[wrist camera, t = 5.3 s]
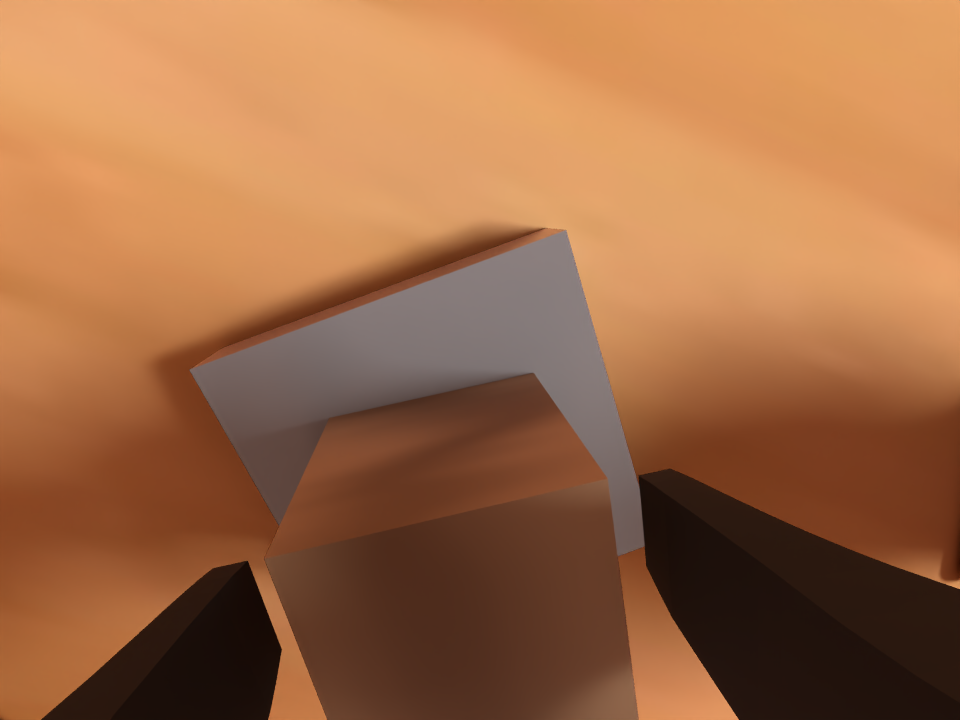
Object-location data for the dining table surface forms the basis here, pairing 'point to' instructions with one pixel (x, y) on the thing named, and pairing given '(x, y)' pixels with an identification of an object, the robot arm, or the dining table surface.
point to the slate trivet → (425, 364)
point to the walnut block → (457, 564)
